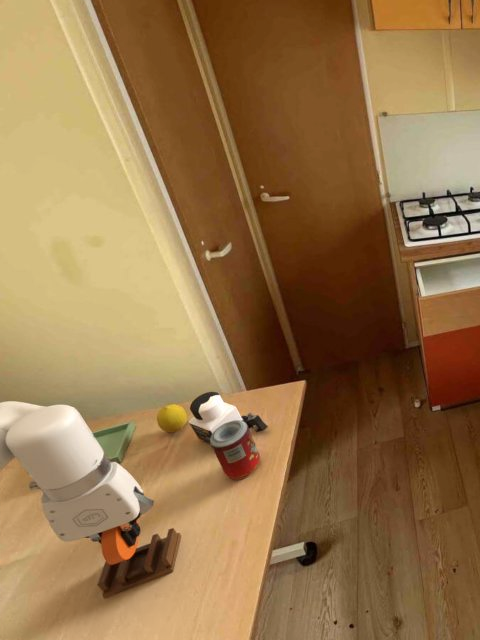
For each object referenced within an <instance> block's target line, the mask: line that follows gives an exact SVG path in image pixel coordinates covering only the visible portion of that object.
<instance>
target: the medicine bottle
mask: <svg viewBox="0 0 480 640" xmlns="http://www.w3.org/2000/svg"><path fill="white" fill-rule="evenodd" d="M189 410H190V412H191V414H192V415H193V417H192V418H191V419H189V420H188V424H189V426H190V427H191V429H192V430H193V432H194V433H195V435H196V437H197V438H198V440H199V441H201V442H203V443H206V444H208V445H211V444H210V438H211V435H212V434H213V432H214V431H215V430H216V429H217V428H218V427H220V426H221V425H223V424H225V423H227V422H230V421H235V420H240V421H242V420H243V419H242V417H241V416H242V415H241V414H240V412H239V410H238V408H237V407H236V406H235V405H232V404H231V403H227V402H225V401H224V400H223V398H222V396H221V395H220V393H219V392H217V391H207V392H204V393H202V394H200V395H198V396H196V397H195V399H193V400H192V402H191V404H190V406H189Z"/></svg>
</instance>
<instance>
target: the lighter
mask: <svg viewBox="0 0 480 640" xmlns="http://www.w3.org/2000/svg"><path fill="white" fill-rule="evenodd" d="M240 416H241V417H242V419H243V420H242V421H244V422H245V423H246V424H247V425H248V428H249V430H250V429H253V430H254V431H255V432H256V433H261V432H264V431H265V430H267V428H268V427H269V426H268V425H267V424H266V423H265V422H264V421H263V420H262V418H261V417H260V416H259V414H254V413H252V412H249V413H248V414H247V415H240Z"/></svg>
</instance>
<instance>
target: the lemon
mask: <svg viewBox="0 0 480 640" xmlns="http://www.w3.org/2000/svg"><path fill="white" fill-rule="evenodd" d="M187 421H188V414H187V411H186V410H185V409H184V407H182V406H181V405H179V404H175V403H172V404H168V405H165V406H163V407H162V408H161V409H160V410H159V411H158V413H157V415H156V422H157V425H158V427H159V428H160V429H161V430H162V431H164V432H166V433H174V432H177V431H180V430H181V429H183V428H184V426H185V425H186V423H187Z"/></svg>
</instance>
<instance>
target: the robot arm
mask: <svg viewBox="0 0 480 640" xmlns="http://www.w3.org/2000/svg"><path fill="white" fill-rule="evenodd" d="M92 432H93V431H92V430H91V429H90V427H89V425H88V424H87V423H86V421H85V419H84V418H83V417H82V415H81V413H80V411H79V410H77V408H76V407H73V406H71V405H68V404H53V405H48V406H43V405H39V404H33V403H29V402H23V401H15V400H13V401H12V400H8V401H1V402H0V472H1V471H3V470H4V469H5V468H6V467H7V466H8V465H9V464H10V463H11V462H12V461H13V460H14V459H17V461H18V462H19V464H20V465H21V466H22V467H23V469H24V470H25V471H26V473H28V475H29V476H30V477H31V479H32V480H31V481H30V482H29V483H28V489H29V490H31V491H33V490H40V491H41V492H42V493H43V494H42V495H41V498H40V501H41V506H42V509H43V512H44V516H45V518H46V520H47V522H48V525H49V526H50V528H51V530H52V531H53V532H54V534H55V536H57V538H58V539H59V540H60V541H62V542H65V543H67V542H68V543H69V542H74V541H78V540H81V539H90V541H91V542H92V543H93V542H96V543H97V542H98V543H99V544H100V545H101V537H102V532H103V531H106V530H109V529H111V528H114V527H117V526H120V528H121V529H122V532H121V536H122V537H123V539H124V540H125V541H126V543H127V544H128V546H130V547H131V546H134V545H135V542H136V539H137V536H139V537H140V534H141V531H142V530H141V527H140V525H138V524H139V523H138V524H137V522H136V521H137V519H138V520H139V518H140V517H141V516H142V515H144V514H147V513H148V512H150V511H151V510H153V507H154V504H155V501H154V499H152V498H149V497H147V496H146V495H145V493H144V490H143V489H142V487H141V485H140V484H139V483H138V482H137V480H136V479H135V478H134V477H133V475H132V474H131V473H130V472H129V471H127V470H126V468H124V467H123V466H122V465H120V463H119V464H118V463H116V462H110V460H109V459H108V457H107V456H106V454H105V452H104V451H103V449H102V448H101V446H100V444H99V443H98V441H97V440H96V438H95V437H94V435H93V434H92Z"/></svg>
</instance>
